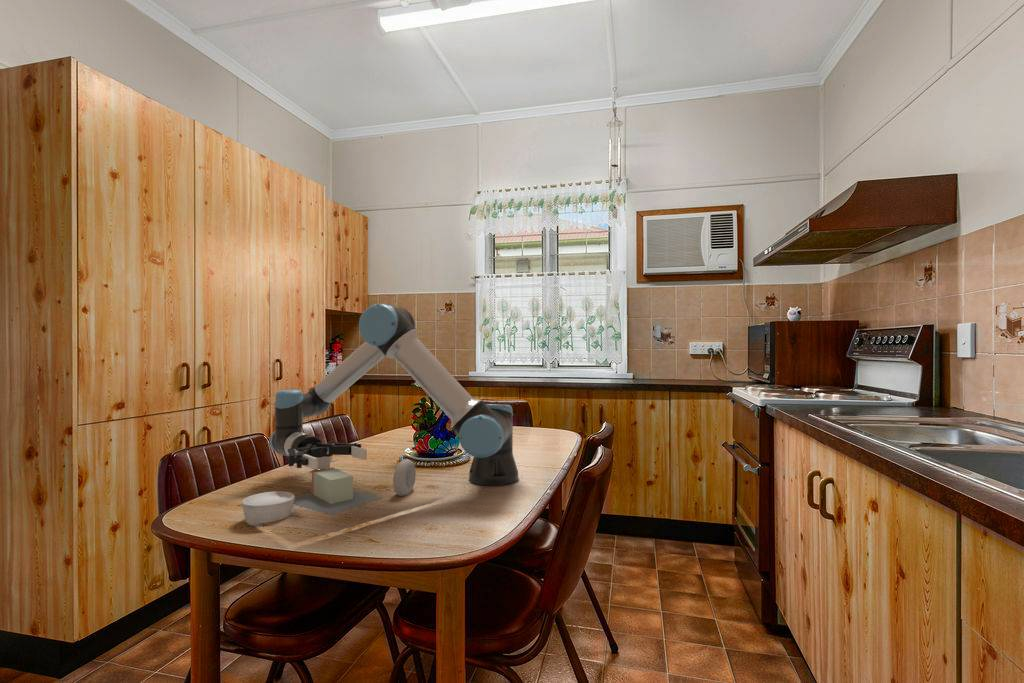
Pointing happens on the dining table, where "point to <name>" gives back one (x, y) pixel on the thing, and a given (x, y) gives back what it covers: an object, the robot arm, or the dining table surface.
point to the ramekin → (267, 507)
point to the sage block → (332, 485)
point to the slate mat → (325, 507)
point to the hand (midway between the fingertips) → (341, 459)
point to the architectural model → (325, 462)
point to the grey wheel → (404, 477)
